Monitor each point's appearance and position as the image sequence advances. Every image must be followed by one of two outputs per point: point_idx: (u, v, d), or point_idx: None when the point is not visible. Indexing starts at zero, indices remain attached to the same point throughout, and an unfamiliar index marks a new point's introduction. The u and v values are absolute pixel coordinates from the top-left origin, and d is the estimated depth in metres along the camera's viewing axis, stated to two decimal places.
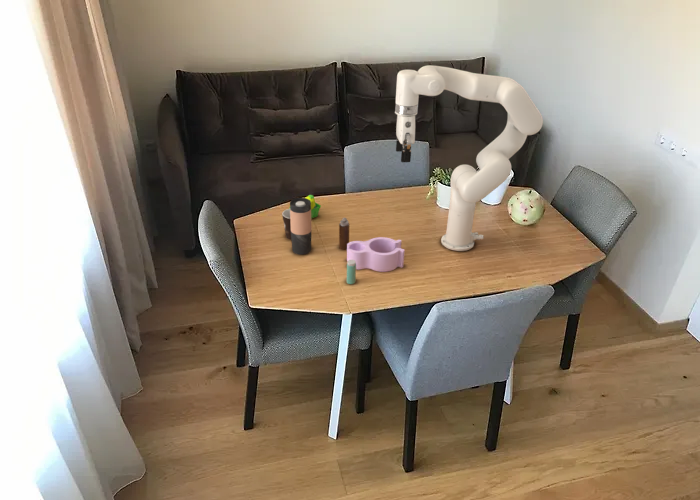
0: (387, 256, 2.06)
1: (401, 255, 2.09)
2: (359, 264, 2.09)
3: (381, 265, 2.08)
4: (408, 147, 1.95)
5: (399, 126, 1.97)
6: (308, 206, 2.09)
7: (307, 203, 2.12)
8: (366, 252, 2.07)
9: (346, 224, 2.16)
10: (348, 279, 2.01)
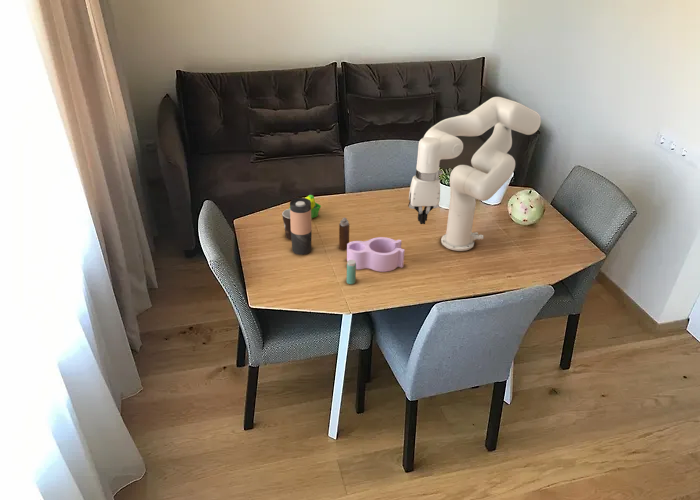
0: (387, 256, 2.06)
1: (401, 255, 2.09)
2: (359, 264, 2.09)
3: (381, 265, 2.08)
4: None
5: (433, 191, 1.99)
6: (308, 206, 2.09)
7: (307, 203, 2.12)
8: (366, 252, 2.07)
9: (346, 224, 2.16)
10: (348, 279, 2.01)
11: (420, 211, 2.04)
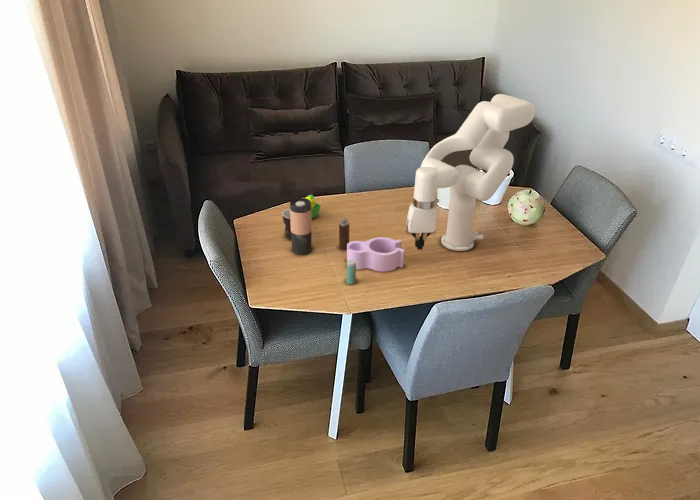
0: (387, 256, 2.06)
1: (401, 255, 2.09)
2: (359, 264, 2.09)
3: (381, 265, 2.08)
4: None
5: (430, 219, 2.05)
6: (308, 206, 2.09)
7: (307, 203, 2.12)
8: (366, 252, 2.07)
9: (346, 224, 2.16)
10: (348, 279, 2.01)
11: (417, 237, 2.09)
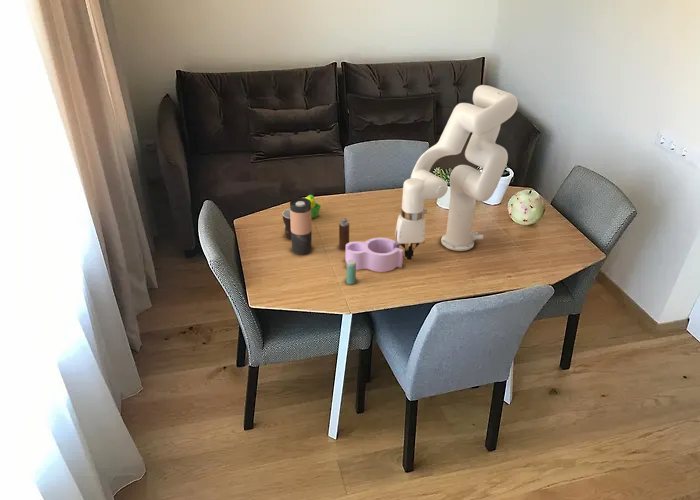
0: (386, 256, 2.06)
1: (400, 255, 2.09)
2: (358, 265, 2.09)
3: (380, 265, 2.08)
4: None
5: (418, 229, 2.06)
6: (308, 206, 2.09)
7: (307, 203, 2.12)
8: (365, 253, 2.07)
9: (346, 224, 2.16)
10: (348, 279, 2.01)
11: (406, 248, 2.11)
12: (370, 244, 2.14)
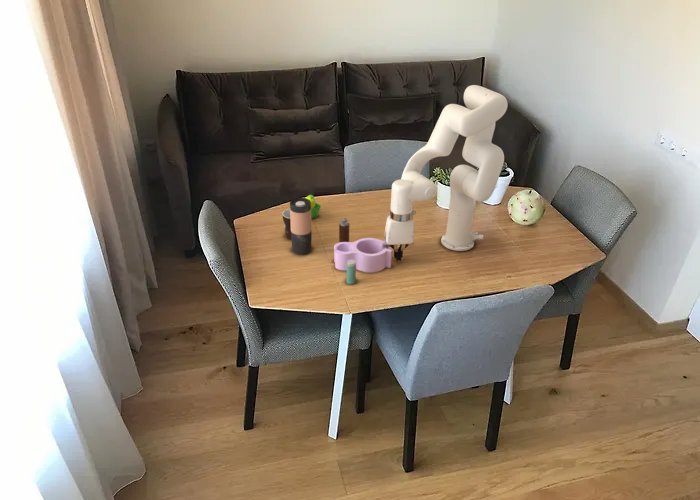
0: (375, 257, 2.06)
1: (388, 255, 2.09)
2: None
3: (369, 266, 2.07)
4: None
5: (407, 231, 2.06)
6: (308, 206, 2.09)
7: (307, 203, 2.12)
8: (353, 253, 2.07)
9: (346, 224, 2.16)
10: (348, 279, 2.01)
11: (395, 249, 2.11)
12: (359, 244, 2.14)
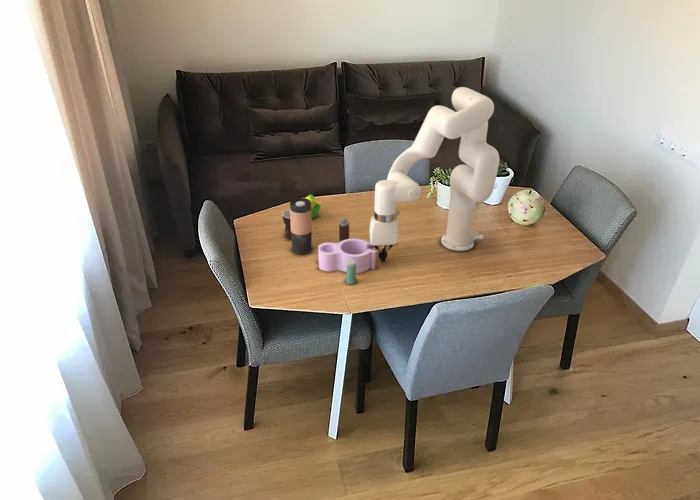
0: (358, 258, 2.05)
1: (373, 256, 2.08)
2: (330, 266, 2.08)
3: None
4: None
5: (391, 231, 2.05)
6: (308, 206, 2.09)
7: (307, 203, 2.12)
8: (337, 254, 2.06)
9: (346, 224, 2.16)
10: (348, 279, 2.01)
11: (380, 249, 2.10)
12: (343, 245, 2.13)
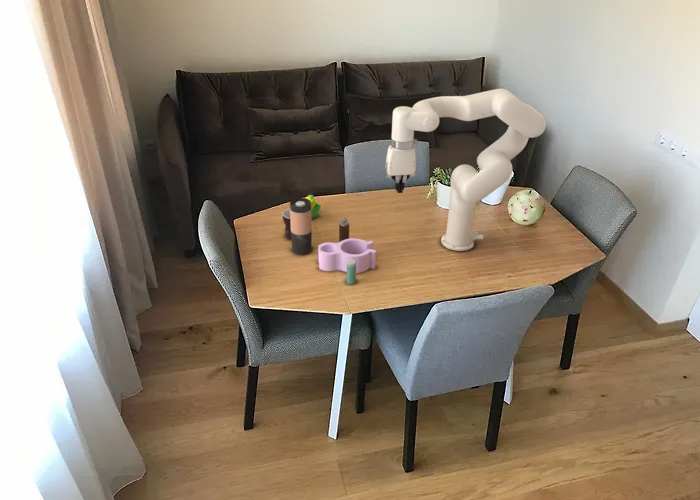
0: (358, 257, 2.05)
1: (372, 256, 2.08)
2: (330, 266, 2.08)
3: None
4: None
5: (408, 160, 2.04)
6: (308, 206, 2.09)
7: (307, 203, 2.12)
8: (337, 254, 2.06)
9: (346, 224, 2.16)
10: (348, 279, 2.01)
11: (397, 180, 2.08)
12: (343, 245, 2.13)
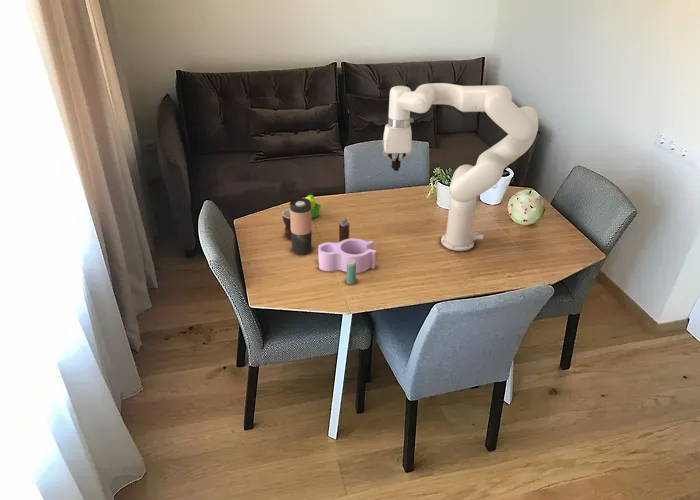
0: (358, 257, 2.05)
1: (372, 256, 2.08)
2: (330, 266, 2.08)
3: None
4: None
5: (404, 138, 2.11)
6: (308, 206, 2.09)
7: (307, 203, 2.12)
8: (337, 254, 2.06)
9: (346, 224, 2.16)
10: (348, 279, 2.01)
11: (393, 158, 2.15)
12: (343, 245, 2.13)
